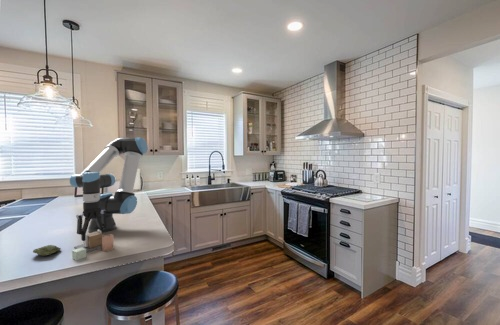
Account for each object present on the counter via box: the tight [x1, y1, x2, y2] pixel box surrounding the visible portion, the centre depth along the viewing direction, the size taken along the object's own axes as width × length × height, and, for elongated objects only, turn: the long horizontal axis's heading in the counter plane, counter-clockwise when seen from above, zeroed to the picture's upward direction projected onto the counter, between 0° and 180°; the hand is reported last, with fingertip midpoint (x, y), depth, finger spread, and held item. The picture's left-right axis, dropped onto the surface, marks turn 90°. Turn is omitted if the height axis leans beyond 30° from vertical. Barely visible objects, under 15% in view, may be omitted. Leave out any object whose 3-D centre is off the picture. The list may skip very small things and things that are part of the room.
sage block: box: [71, 247, 87, 261], centre depth 106 cm, size 4×4×4 cm
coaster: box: [73, 243, 102, 254], centre depth 119 cm, size 12×12×1 cm
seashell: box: [32, 244, 62, 257], centre depth 110 cm, size 10×7×10 cm
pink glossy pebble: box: [101, 234, 115, 252], centre depth 115 cm, size 5×5×7 cm
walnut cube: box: [87, 231, 103, 248], centre depth 119 cm, size 6×6×6 cm
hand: (92, 244), depth 119 cm, fingers closed on walnut cube, 6 cm apart
